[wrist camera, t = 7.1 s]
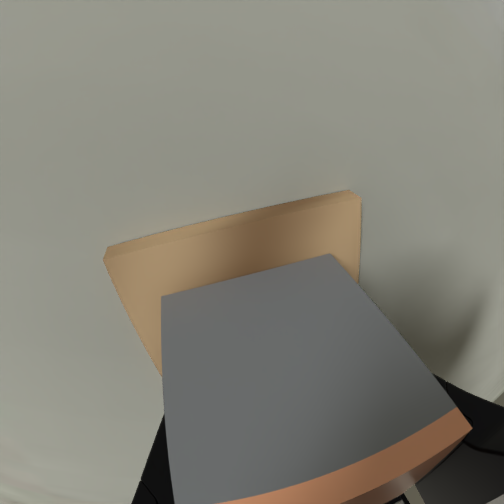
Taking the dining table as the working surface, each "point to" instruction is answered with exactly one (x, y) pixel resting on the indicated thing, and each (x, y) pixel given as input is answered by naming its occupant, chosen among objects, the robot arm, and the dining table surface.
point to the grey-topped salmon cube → (296, 393)
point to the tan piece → (230, 253)
